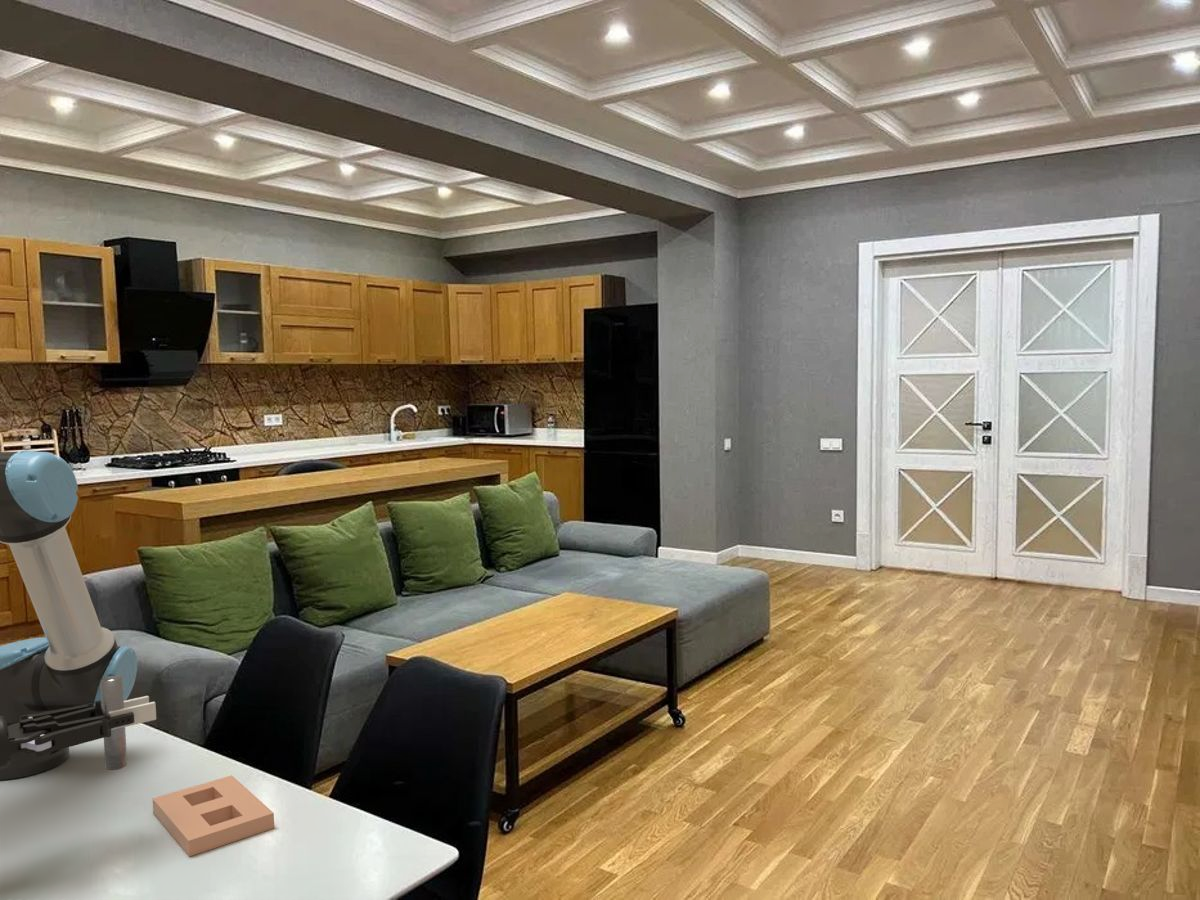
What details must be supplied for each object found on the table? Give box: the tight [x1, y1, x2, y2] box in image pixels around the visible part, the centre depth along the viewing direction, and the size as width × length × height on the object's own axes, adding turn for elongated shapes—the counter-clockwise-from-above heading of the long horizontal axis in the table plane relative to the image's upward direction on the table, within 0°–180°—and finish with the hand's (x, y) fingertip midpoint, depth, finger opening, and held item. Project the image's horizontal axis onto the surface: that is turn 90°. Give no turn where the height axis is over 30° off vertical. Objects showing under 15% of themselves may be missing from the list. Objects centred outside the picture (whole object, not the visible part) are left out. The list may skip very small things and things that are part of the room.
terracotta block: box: [152, 774, 275, 858], centre depth 147 cm, size 19×13×2 cm
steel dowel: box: [101, 675, 128, 771], centre depth 140 cm, size 3×3×14 cm
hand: (151, 707), depth 143 cm, fingers closed on steel dowel, 3 cm apart
